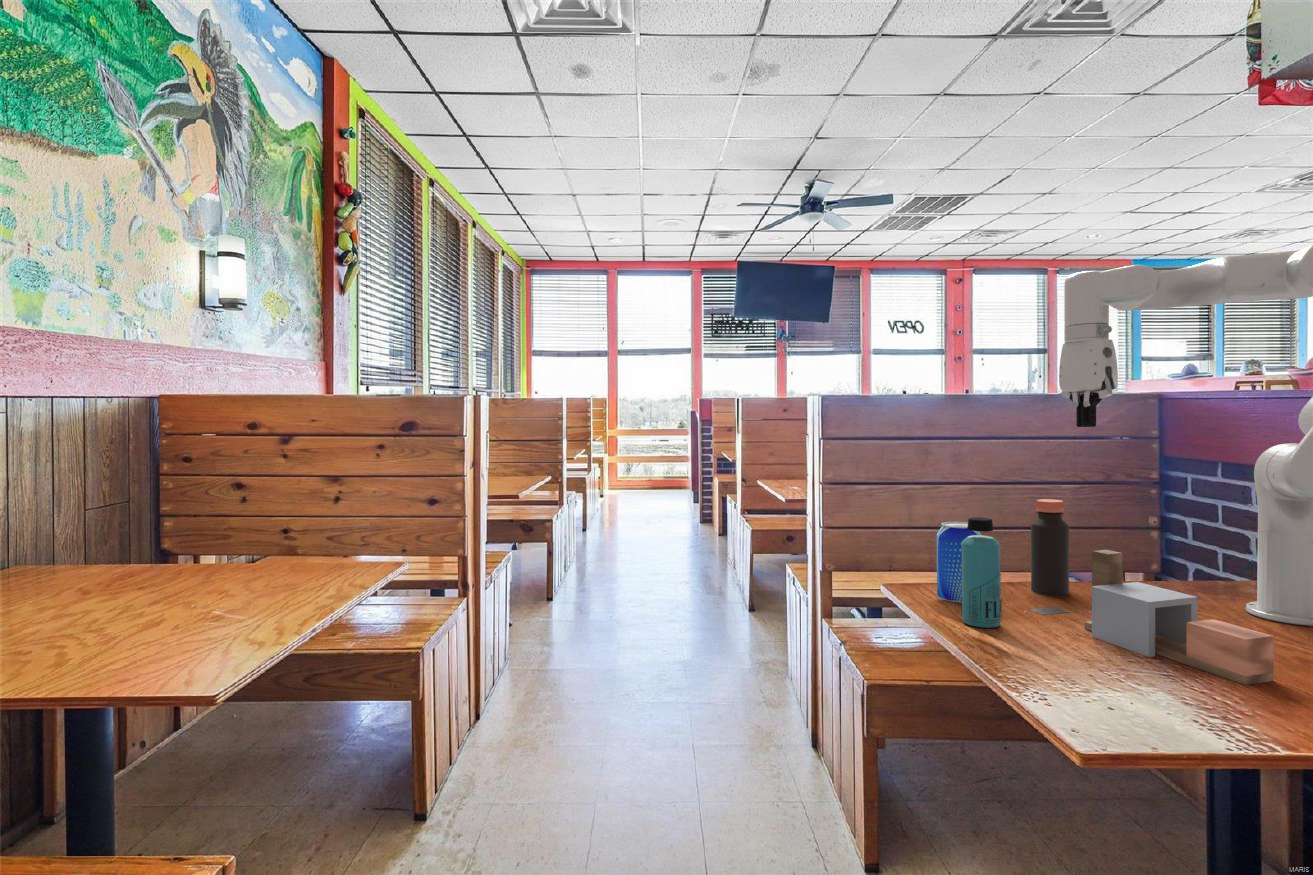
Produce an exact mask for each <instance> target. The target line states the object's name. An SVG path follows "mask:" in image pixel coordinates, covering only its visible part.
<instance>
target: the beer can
mask: <svg viewBox="0 0 1313 875" xmlns="http://www.w3.org/2000/svg"><path fill="white" fill-rule="evenodd" d="M940 524H941V527H940V528H939V530H938V531H937V533H936V596H937V598H939V599H940V601H942V600H944V601H947V602H953V603H960V604H961V603H962V584H961V579H962V545H961V542H962V541H963V540H964V539H965V538H967V537H968V536H972V535H981V536H983V535H982V534H981V531H971V530H968V529H967V526H968V521H967V522H965V521H945V522H942V523H940Z"/></svg>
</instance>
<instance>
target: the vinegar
mask: <svg viewBox="0 0 1313 875" xmlns="http://www.w3.org/2000/svg"><path fill="white" fill-rule="evenodd" d="M1064 510H1065V508H1064V500H1061V499H1053V498H1052V499H1051V498H1042V499H1036V500H1035V511H1036V514H1037V518H1036V519H1035V520H1033V522H1031V524H1030V592H1033V593H1035V594H1039V595H1044V596H1049V597H1050V596H1052V597H1063V596H1068V595H1069V594H1070V525H1069V524H1068V523H1067V522H1066V521H1065V519H1063V515H1064V512H1065V511H1064Z"/></svg>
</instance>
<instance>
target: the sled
mask: <svg viewBox="0 0 1313 875" xmlns="http://www.w3.org/2000/svg"><path fill="white" fill-rule="evenodd" d="M1121 583H1123V552H1119V551H1114V550H1109V549H1099V550H1091V587H1092V586H1100V585H1111V584H1121ZM1084 629H1085V630H1086V631H1091V632H1092V620H1088V621H1084ZM1274 641H1275V636H1274V635H1272V634H1268V633H1265V632H1262V631H1257V630H1254V629H1249V628H1246V627H1243V626H1239V625H1235V624H1232V623H1228V622H1225V621H1221V620H1217V619H1214V618H1213V619H1202V620H1197V621H1193V622H1187V644H1184V643H1181V642H1178V641H1175V640H1172V639H1169V638H1166V637H1163V636H1160V635H1157V634H1155V655H1158V656H1162V657H1165V658H1168V659H1169V660H1173V661H1175V662H1178V663H1181V664H1185V665H1187V666H1190V667H1193V668H1194V669H1195V668H1196V669H1199V670H1202V671H1205V672H1207V673H1209V674H1213V675H1216V676H1219V677H1221V678H1225V679H1228V680H1230V681H1233V682H1235V683H1237V684H1241V685H1244V686H1248V685H1254V684H1261V683H1262V684H1263V683H1269V682H1274V676H1275V675H1274V674H1275V673H1274V669H1275V668H1274V667H1275V666H1274V663H1275V662H1274V661H1275V660H1274V657H1275V656H1274V653H1275V652H1274V651H1275V649H1274V648H1275V642H1274Z"/></svg>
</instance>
